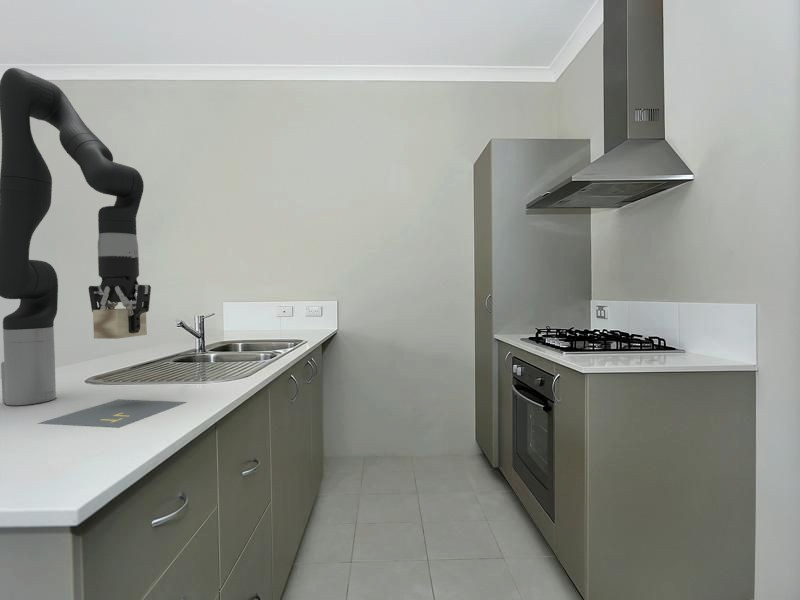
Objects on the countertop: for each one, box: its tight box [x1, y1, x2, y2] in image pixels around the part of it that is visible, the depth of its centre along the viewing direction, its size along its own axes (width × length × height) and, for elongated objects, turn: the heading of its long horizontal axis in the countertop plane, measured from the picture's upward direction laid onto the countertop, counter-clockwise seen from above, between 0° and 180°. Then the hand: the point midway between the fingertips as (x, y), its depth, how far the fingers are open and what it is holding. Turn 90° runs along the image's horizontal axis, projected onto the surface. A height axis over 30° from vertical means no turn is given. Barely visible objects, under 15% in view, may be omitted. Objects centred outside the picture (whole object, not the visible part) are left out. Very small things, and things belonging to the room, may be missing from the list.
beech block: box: [92, 307, 148, 340], centre depth 99 cm, size 6×8×6 cm
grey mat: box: [37, 398, 188, 429], centre depth 93 cm, size 18×19×1 cm
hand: (121, 332), depth 99 cm, fingers closed on beech block, 6 cm apart
